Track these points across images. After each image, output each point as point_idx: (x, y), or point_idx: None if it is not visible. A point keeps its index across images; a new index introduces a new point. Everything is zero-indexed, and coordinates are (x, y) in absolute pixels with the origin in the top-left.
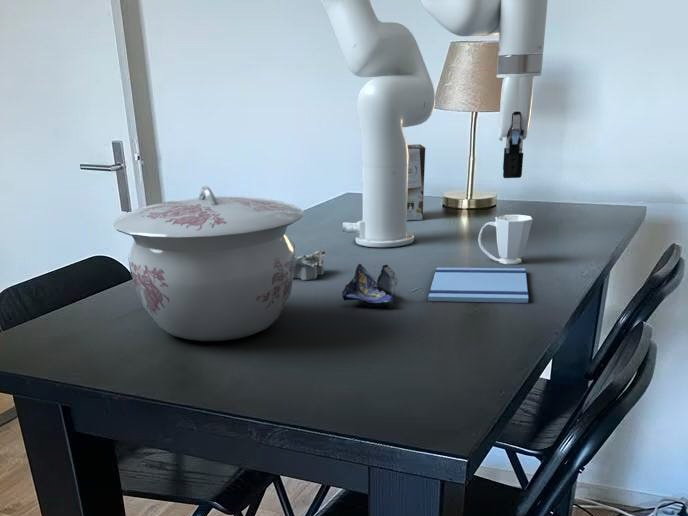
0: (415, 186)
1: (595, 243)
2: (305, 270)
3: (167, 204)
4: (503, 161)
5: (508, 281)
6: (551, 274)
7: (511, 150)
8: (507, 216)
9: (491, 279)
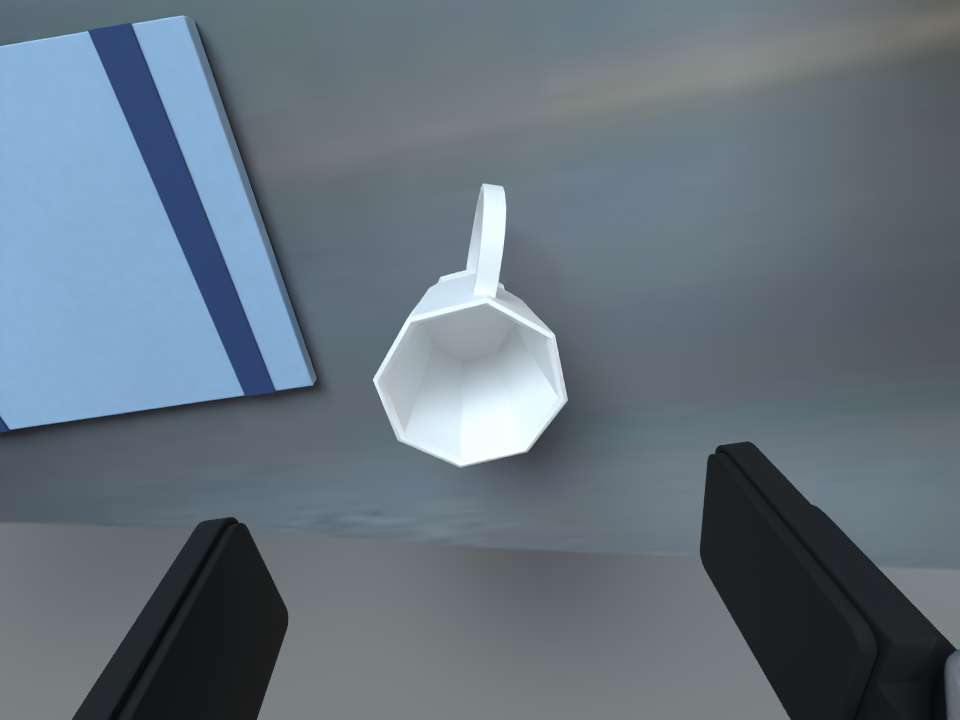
0: None
1: None
2: None
3: None
4: (771, 500)
5: (104, 361)
6: (326, 448)
7: None
8: (546, 348)
9: (101, 302)
